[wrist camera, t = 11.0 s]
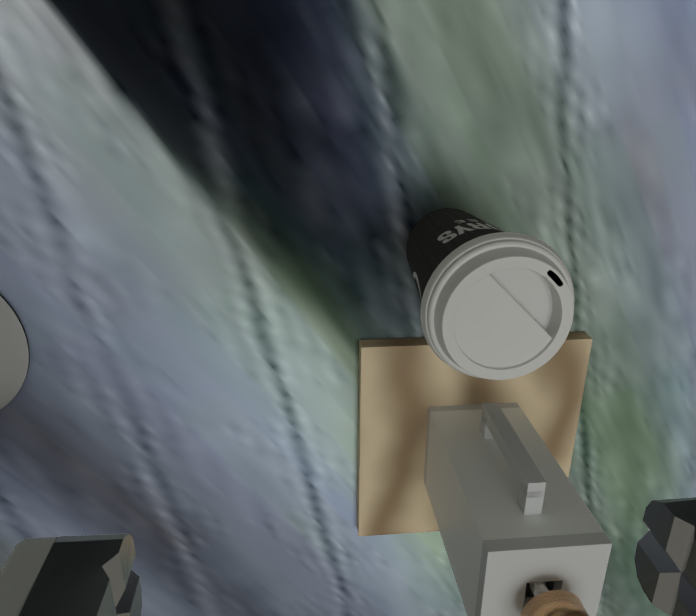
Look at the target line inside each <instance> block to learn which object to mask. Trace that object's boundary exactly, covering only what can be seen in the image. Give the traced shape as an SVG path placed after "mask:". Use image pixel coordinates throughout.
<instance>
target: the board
mask: <svg viewBox="0 0 696 616" xmlns="http://www.w3.org/2000/svg"><path fill="white" fill-rule="evenodd" d="M591 344H592V338H591V337H590V336H589V335H588V334H586V333H585V332H569V334H568V336H567V338H566V340H565V342H564V343H563V345H562V346H561V348H560V349H559V350H558V352H557V353H556V354H555V355H554V356H553V357H552V358H551V359H550V360H549V361H548V362H547V363H545V364H544V365H543V366H541V367H540V368H538V369H536V370H535V371H533V372H531V373H529V374H526V375H524V376H521V377H517V378H513V379H507V380H490V379H483V378H477V377H473V376H469V375H466V374H463V373H461V372H459V371H457V370H455V369H453V368H452V367H450V366H449V365H447V364H446V363H444V362H443V361H442V360H441V359H440V358H438V356H437V355H436V354H435V353H434V352H433V351H432V349H431V348H430V346H429V344H428V343H427V341H426V338H399V339H372V340H359V396H358V473H357V529H358V536H370V535H385V534H400V533H415V532H431V531H440V530H439V527H438V524H437V521H436V518H435V515H434V512H433V508H432V505H431V502H430V499H429V496H428V493H427V490H426V487H425V484H424V468H425V452H426V436H427V420H428V407H434V406H455V405H476V404H482V403H496V402H497V403H518V405H519V406H520V408H521V409H522V411H523V412H524V414H525V415H526V417H527V418H528V420H529V421H530V423H531V424H532V426H533V427H534V429H535V430H536V432H537V433H538V435H539V436H540V437H541V439H542V440H543V442H544V443H545V445H546V446H547V448H548V449H549V451H550V452H551V454H552V455H553V457H554V458H555V460H556V461H557V463H558V464H559V466H560V467H561V469H562V470H563V472H564V473H565V475H566V476H567V477H568V476H569V471H570V465H571V459H572V453H573V448H574V442H575V436H576V430H577V425H578V419H579V413H580V408H581V402H582V396H583V390H584V385H585V379H586V373H587V367H588V362H589V356H590V350H591Z"/></svg>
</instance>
